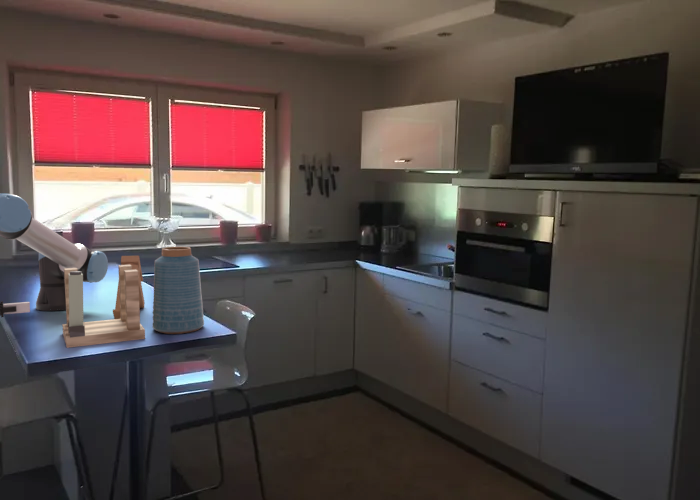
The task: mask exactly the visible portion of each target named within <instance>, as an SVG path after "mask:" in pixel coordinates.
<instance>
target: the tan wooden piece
mask: <svg viewBox="0 0 700 500" xmlns="http://www.w3.org/2000/svg"><path fill="white" fill-rule="evenodd" d="M140 259H141V258H140V255H121V259H120V265H131V266H132V270H137V271H138V281H139V309H144V308H145V296H144V292H143V285H142V282H144V278H143V272H142V266H141V260H140ZM112 314H113V319H120V295H119V281H118V283H117V291H116V299H115V308H114V309H112Z"/></svg>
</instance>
